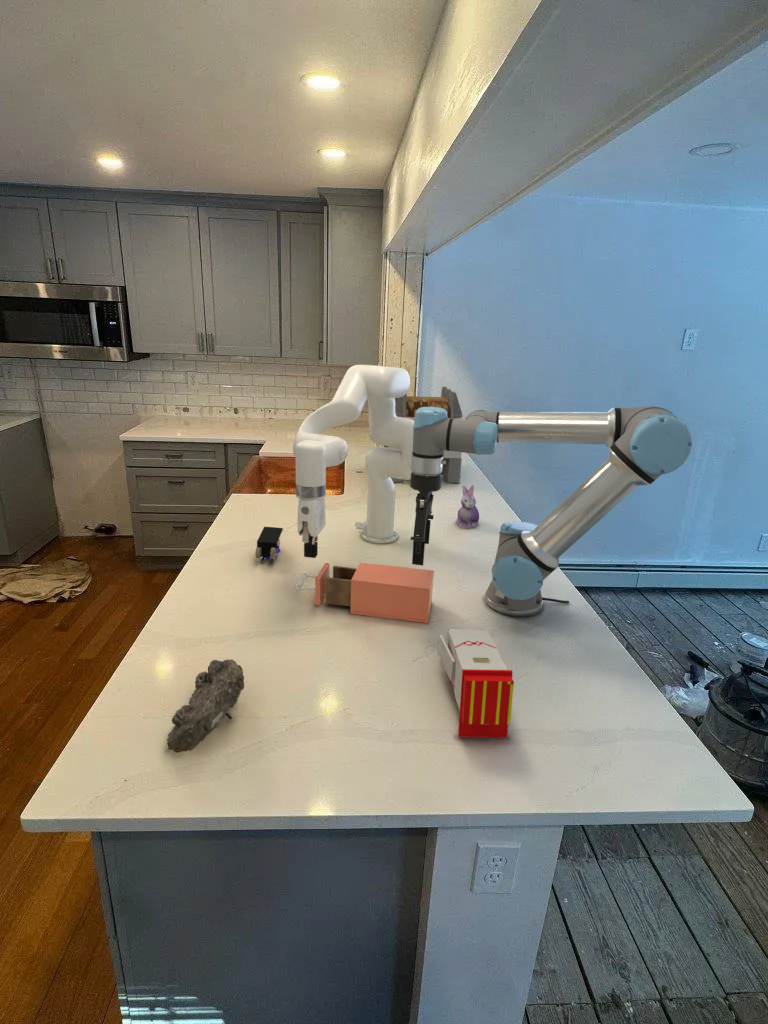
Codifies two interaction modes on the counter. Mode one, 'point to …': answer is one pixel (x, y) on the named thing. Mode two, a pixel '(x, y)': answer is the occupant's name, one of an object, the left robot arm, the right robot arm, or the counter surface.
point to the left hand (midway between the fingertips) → (310, 556)
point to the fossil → (206, 705)
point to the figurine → (468, 509)
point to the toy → (478, 682)
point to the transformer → (449, 402)
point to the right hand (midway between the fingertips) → (420, 553)
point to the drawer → (330, 585)
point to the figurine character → (268, 543)
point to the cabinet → (392, 592)
